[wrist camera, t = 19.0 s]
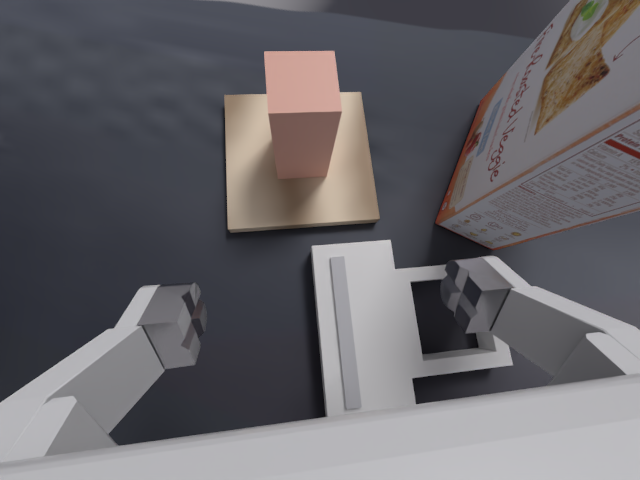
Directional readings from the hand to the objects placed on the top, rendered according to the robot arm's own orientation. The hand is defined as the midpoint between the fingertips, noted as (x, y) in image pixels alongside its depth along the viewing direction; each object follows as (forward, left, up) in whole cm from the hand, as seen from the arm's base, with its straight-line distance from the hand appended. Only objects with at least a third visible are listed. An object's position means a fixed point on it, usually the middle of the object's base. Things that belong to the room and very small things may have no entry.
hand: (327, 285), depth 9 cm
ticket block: (0, -11, -12) cm, 17 cm away
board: (0, -12, -13) cm, 17 cm away
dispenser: (-7, +2, -13) cm, 15 cm away
